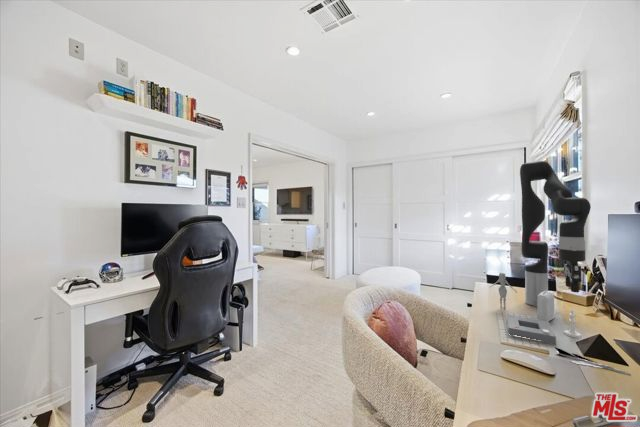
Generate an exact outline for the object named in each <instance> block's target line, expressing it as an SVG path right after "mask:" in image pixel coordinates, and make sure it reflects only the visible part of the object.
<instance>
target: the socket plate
mask: <svg viewBox="0 0 640 427" xmlns="http://www.w3.org/2000/svg"><path fill="white" fill-rule="evenodd" d="M506 324H507V325H508V327H507V333H509V334H510V335H517V336H521V337H526V338H530V339H536V340H541V341H543V342H542V343H544V342H545V343H544V344H549V345H555V346H556V345H557V337H556V334H555V332H554V331H553V328H552V326H551V324H550V321H542V320H539V319H536V318H535V319H534V318H529V317H524V316H517V315H511V314H506ZM507 325H506V326H507ZM509 334H508V335H509ZM510 335H509V336H510Z"/></svg>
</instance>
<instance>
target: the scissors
mask: <svg viewBox="0 0 640 427" xmlns="http://www.w3.org/2000/svg"><path fill="white" fill-rule="evenodd" d="M555 349H556V352H557V354H555V356H560V357H565V358H569V359H573V360H575V361H573V360H572V361H569V362H570V363H573V364H577V365H582V366H587V367H593V368H601V369H606V370H610V371H613V372H616V373H620V374H624V375H627V376H632V374H631V373H629V372H626V371H623V370H622V369H618V368H614V367H612V366H610V365H607V364H600V363H599V362H596V361H593V360H591V359H589V358H586V357H585V356H583V355H582V356H581V355H579V354H575V353H569V352H567V351H566V350H564V349H561V348H558V347H555Z"/></svg>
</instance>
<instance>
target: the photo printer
mask: <svg viewBox="0 0 640 427" xmlns="http://www.w3.org/2000/svg"><path fill="white" fill-rule="evenodd" d="M536 308H537V309H536V310H537V311H536V313H537V320H542V321H548V322H550V321H551V320H553V319H554V318H555V316H556V315H555V295H554V294H553V292H551V291H549V290H548V291H543V292H541V293H540V294H539V295H538V297H537V306H536Z"/></svg>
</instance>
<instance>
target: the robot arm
mask: <svg viewBox="0 0 640 427" xmlns="http://www.w3.org/2000/svg"><path fill="white" fill-rule="evenodd" d="M519 169H520V170H519V176H520V187H521V224H522V225H521V226H522V233H521V236H522V237H521V255H522V257H523V258H525V259H533V260H534V259H535V260H539V261H537V262H533V263H530V264H526V265H525V266H524V278H525V280H524V283H525V284H524V287H525V288H524V290H525V298H524V299H525V300H524V301H525V304H527V305H530V306H533V307H537V297H538V295H539V294H540V293H541V292H543V291H548V292H549V279H548V276H549V273H548V272H549V270H548V264H549V263H548V262H549V261H548V260H549V259H548V258H549V245H548V243H547V242H546V241H542V240H541V241H537V240H530V239H531V237H532V235H533V233H534V232H535V231H536V230H537V229H538V228H539V227H540V226H541V224H542V223H543V222H544V221H545V218H546V206H545V203H544V202H543V201H542V200H541V198H540V197H539V196H538V195H537V194H536V193H535V191H534V190H533V187H532V182H533V181H542V180H545V183H544V185H543V192H544V194H545V196H546V197H547V198H548V199H549V200H550V201H551V204H552V209H553V211H554V214H555V213H556V214H557V215H559V216H566V217H567V216H568V217H569V216H571V217H572V218H571V220H568V221H562V222H561V223H560V224H559V238H558V239H559V240H558V259H559V260H562V261H563V275H564V277H565V286H566V287H567V288H570V292H572V293H579V292H580V283H581V282H582V266H581V265H579V263H578V262H583V263H584V262H585V261H586V240H585V225H586V223H587V219H588V218H589V217H588V216H589V214H590V212H591V203H590V201H589V200H588V198H585V197H573V193H572V191H571V190H570V189H569V188H568V187H567V186H566V185H565V184H564V183H562V181H561V180H560V179H559V177H558V176H557V173H556V172H555V170H554V168H553V167H552V165H551V164H550V163H549V162H548V161H546V160H537V161H532V162H531V161H530V162H524V163H523V164H521V166H520V168H519Z"/></svg>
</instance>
